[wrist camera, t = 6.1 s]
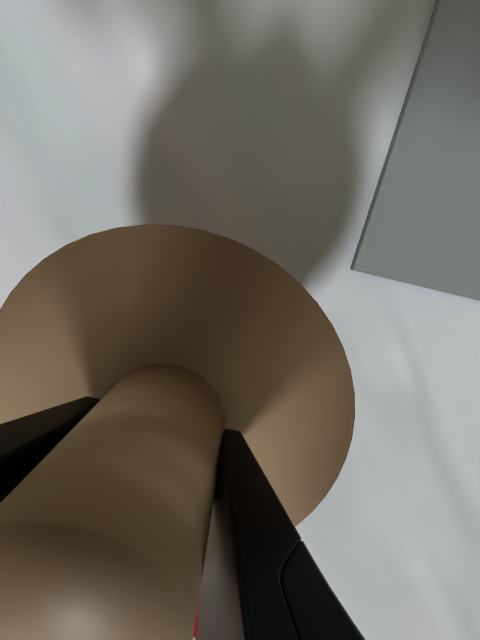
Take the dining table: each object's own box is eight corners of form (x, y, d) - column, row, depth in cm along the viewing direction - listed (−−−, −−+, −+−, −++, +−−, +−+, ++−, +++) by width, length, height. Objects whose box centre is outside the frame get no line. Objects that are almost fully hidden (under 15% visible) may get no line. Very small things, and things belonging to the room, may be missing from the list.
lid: (396, 275, 8) (689, 338, 3) (293, 564, 10) (335, 892, 5) (11, 186, 8) (-512, 60, 2) (2, 501, 10) (-261, 773, 5)
